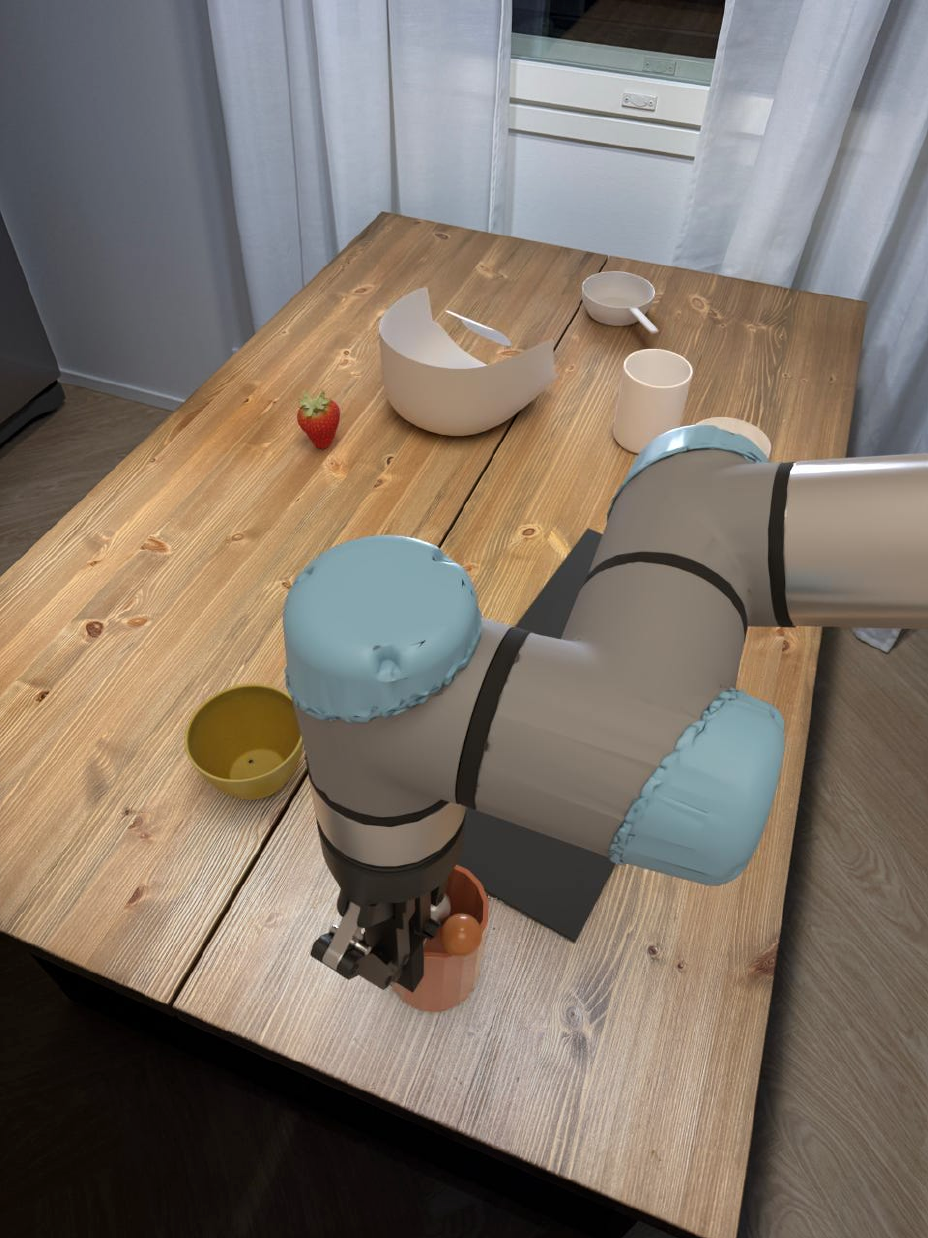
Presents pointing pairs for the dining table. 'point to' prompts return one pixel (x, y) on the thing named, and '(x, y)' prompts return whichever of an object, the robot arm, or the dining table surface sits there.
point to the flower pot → (245, 740)
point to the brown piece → (461, 935)
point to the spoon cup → (443, 971)
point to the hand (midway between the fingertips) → (402, 973)
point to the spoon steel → (440, 913)
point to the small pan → (618, 299)
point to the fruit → (319, 419)
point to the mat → (517, 856)
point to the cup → (741, 430)
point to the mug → (650, 397)
